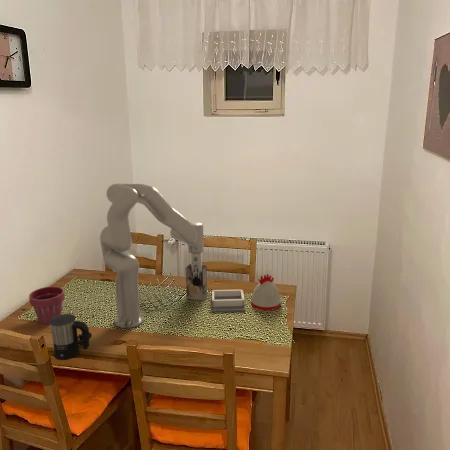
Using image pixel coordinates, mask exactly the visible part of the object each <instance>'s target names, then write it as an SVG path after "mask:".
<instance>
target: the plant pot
mask: <svg viewBox="0 0 450 450" xmlns="http://www.w3.org/2000/svg"><path fill="white" fill-rule="evenodd" d="M65 298H66V297H65V290H64V288H62V287H59V286H45V287H41V288H37V289H35V290H33V291H32V292H30V293H29V295H28V300H29V305H30V306H31V307H33V309H34V312H35V315H36V317H37V319H38V322H39V323H40V324H45V325H46V324H47V325H49V324H50V323H49V322H50V320H51V319H52V318H53V317H55V316H58V315H62V310H63V301H64V300H65Z"/></svg>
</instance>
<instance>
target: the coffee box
mask: <svg viewBox="0 0 450 450" xmlns="http://www.w3.org/2000/svg"><path fill="white" fill-rule="evenodd" d="M207 270H208V269H207V265H206V264H205V265H204V264H202V272H199V278H200V286H193V273H192V268H191V263H189V264H188V265H187V266H186V267H185V285H186V286H185V289H186V299H189V300H197V301H205V300H206V299H207V297H208V271H207ZM194 272H195V271H194ZM197 272H198V269H197ZM194 274H195V273H194ZM197 274H198V273H197Z"/></svg>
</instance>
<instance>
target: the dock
mask: <svg viewBox="0 0 450 450" xmlns="http://www.w3.org/2000/svg"><path fill="white" fill-rule="evenodd" d="M211 294H212V295H211V298H212V299H211V301H212V302H211V303H212V308H211V309H212V311H211V312H212V314H213V312H214V313H245V312H246V307H245V300H246V299H245V296H244V295H245V293H244V290H243V289H212V290H211Z"/></svg>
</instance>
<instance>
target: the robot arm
mask: <svg viewBox="0 0 450 450" xmlns="http://www.w3.org/2000/svg"><path fill="white" fill-rule="evenodd" d="M106 198H107V199H108V201H109V202H110V203H111V205H110V206H109V209H108V211H107V214H106V222H107V225H106V226H104V228H103V229H102V230H101V232H100V234H99V235H100V236H99V241H100V247H101V252H102V256H103V257H102V258H103V261H104V263H105V266H106V267H108V268H109V269H110V270H111V271H114V272H115V273H116V279H115V283H114V284H115V296H116V297H115V298H116V307H117V308H116V310H117V311H116V312H117V316H116V317H115V319H114V325H115V326H116V327H119V328H121V329H133V328H135V327H138V326H141V325H142V324H143V323H144V321H145V317H144V315H142V314H141V311H140V309H141V308H140V293H139V292H140V291H139V290H140V289H139V271H140V263H139V260H138V258H136V256H134V254H132V253H129V252H127V251H129V250H130V249H131V247H132V244H133V243H132V242H133V240H132V234H131V229H130V222H129V221H130V220H129V216H130V213H131V211H132V209H133V208H134V207H135V206H136V204H141V205H143V206H145V208H146V209H147V210H148V211H149V212H150V213H151V215H152V216H154V218H155V219H156V220H157V221H158V222H160V223H161V224H162V225H164V226H167V227H168V228H170V232H169V233H170V236H171V238H172V239H174V240H176V241H178V242H179V243H180V242H181V243H184V244H186V245H187V251H188V253H190V264H191V268H192V273H193V286H200V278H199V272H202V265H203V255H202V254H203V252H204V251H205V249H204V247H205V244H204V242H205V241H204V225H203V223H201V222H199V221H193V222H190V221H189V220H188V219H187V218H186V217H184V216H183V215H182V214H181V213H179V211H177V210H176V209H175V208H173V207H172V206H171V204H170V203H169V202H168V201H167V200H166V199H165V197H164V196H163V195H162V194H161V193H160V191H159V190H158V189H157V188H155V187H154V186H152V185H147V184H142V183H114V184H111V185H110V186H108V188H107V190H106ZM197 269H198V272H197ZM194 271H195V272H194ZM194 273H195V274H194ZM197 273H198V274H197Z"/></svg>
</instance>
